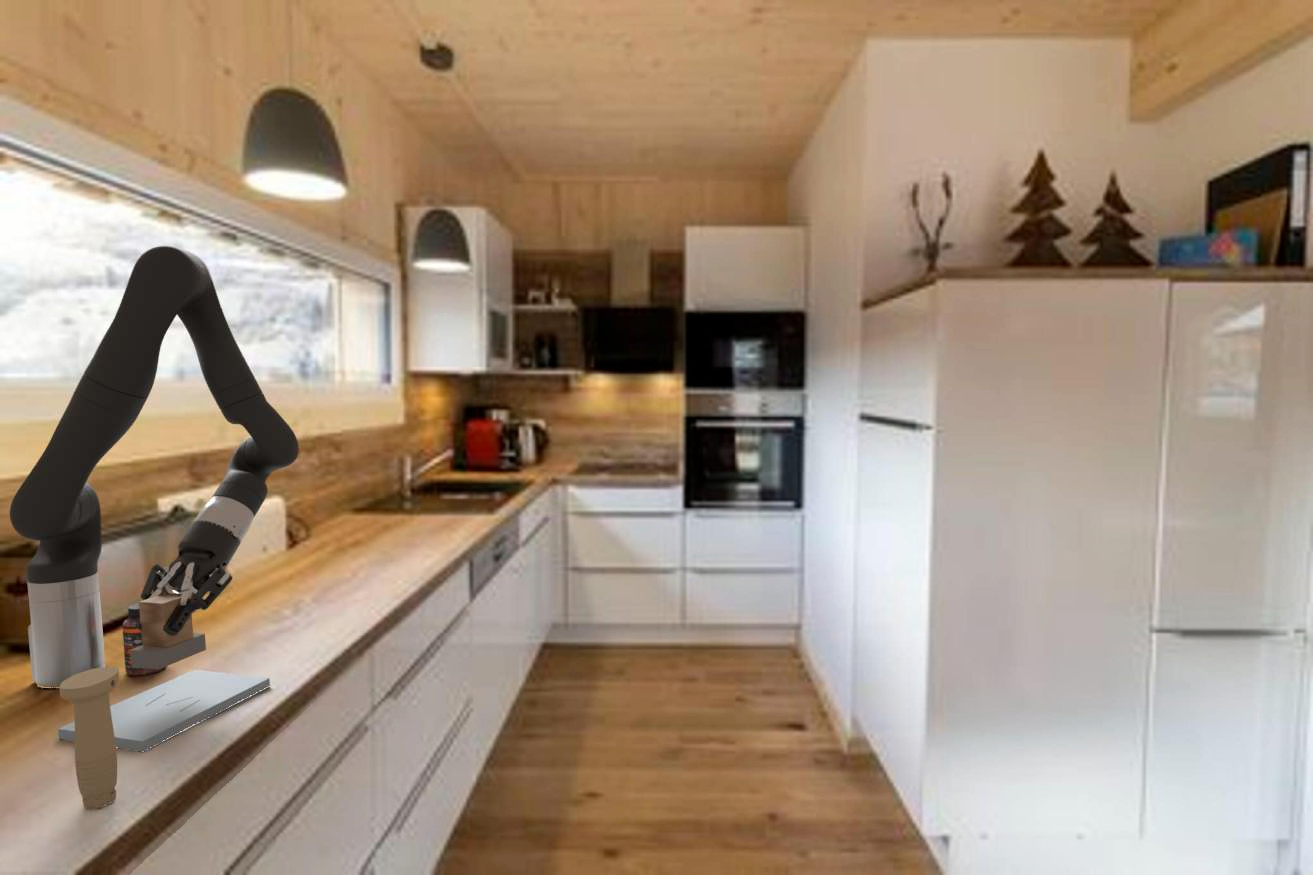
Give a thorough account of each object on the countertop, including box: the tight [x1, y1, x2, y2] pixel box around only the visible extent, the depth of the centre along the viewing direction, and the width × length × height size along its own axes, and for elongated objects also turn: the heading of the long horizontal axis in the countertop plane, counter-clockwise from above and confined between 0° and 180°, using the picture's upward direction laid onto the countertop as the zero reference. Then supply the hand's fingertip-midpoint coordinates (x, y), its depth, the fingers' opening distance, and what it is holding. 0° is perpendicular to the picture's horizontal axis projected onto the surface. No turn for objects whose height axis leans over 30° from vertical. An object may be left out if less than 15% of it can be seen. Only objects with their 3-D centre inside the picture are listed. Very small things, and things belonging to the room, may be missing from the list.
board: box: [57, 669, 271, 752], centre depth 115 cm, size 15×22×2 cm
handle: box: [58, 666, 120, 811], centre depth 89 cm, size 5×6×15 cm
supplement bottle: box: [122, 602, 166, 677], centre depth 131 cm, size 6×6×11 cm
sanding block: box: [130, 593, 207, 670], centre depth 114 cm, size 5×8×9 cm, turn 163°
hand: (155, 631), depth 112 cm, fingers closed on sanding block, 4 cm apart
